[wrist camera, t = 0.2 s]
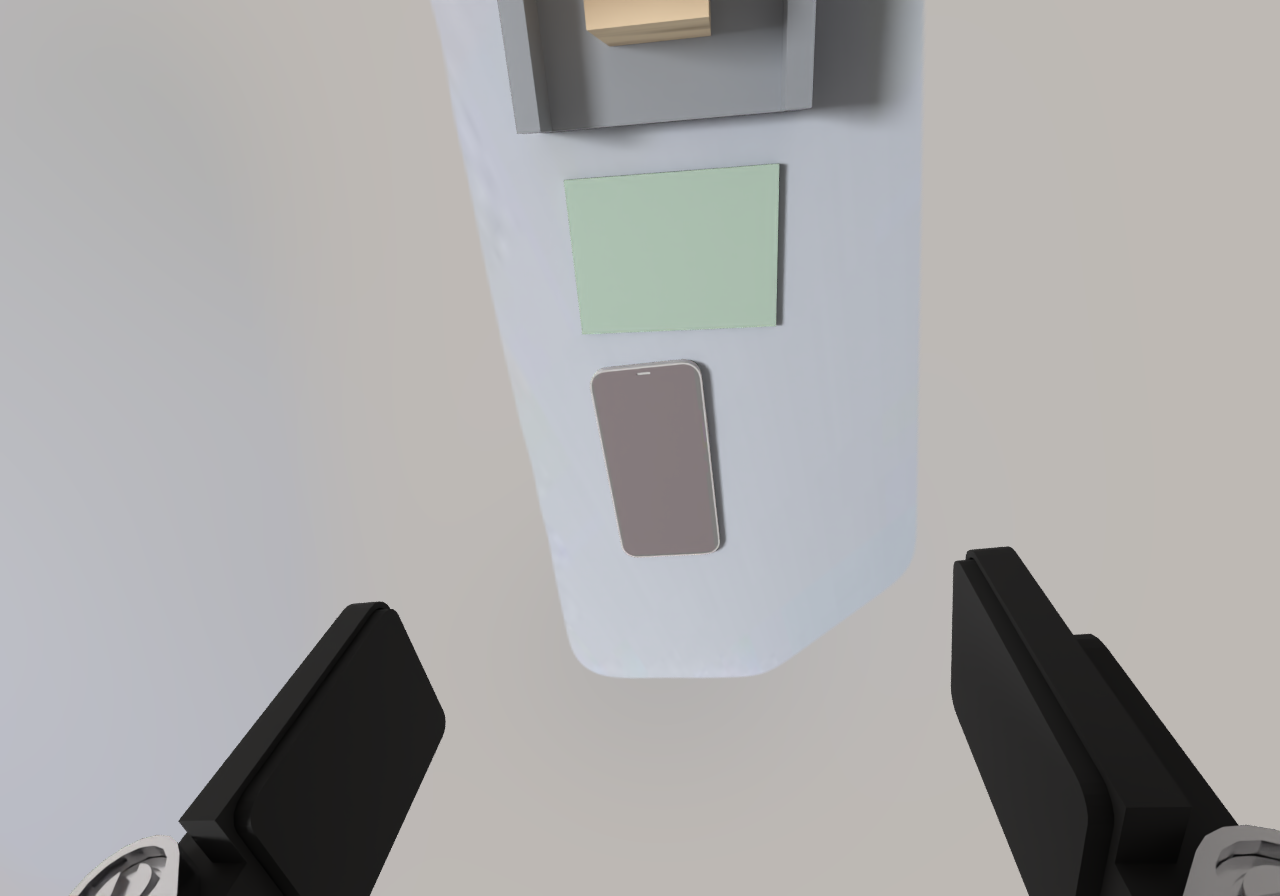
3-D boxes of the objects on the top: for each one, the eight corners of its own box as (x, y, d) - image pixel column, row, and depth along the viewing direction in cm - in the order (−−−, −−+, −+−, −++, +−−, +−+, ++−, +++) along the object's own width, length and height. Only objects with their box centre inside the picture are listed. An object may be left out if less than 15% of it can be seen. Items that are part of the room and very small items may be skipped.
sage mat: (565, 180, 36) (563, 180, 36) (778, 163, 34) (779, 163, 34) (583, 332, 40) (582, 334, 40) (775, 324, 38) (775, 326, 38)
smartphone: (623, 558, 47) (585, 372, 41) (624, 551, 48) (588, 367, 41) (721, 553, 46) (700, 360, 39) (721, 546, 47) (700, 355, 40)
